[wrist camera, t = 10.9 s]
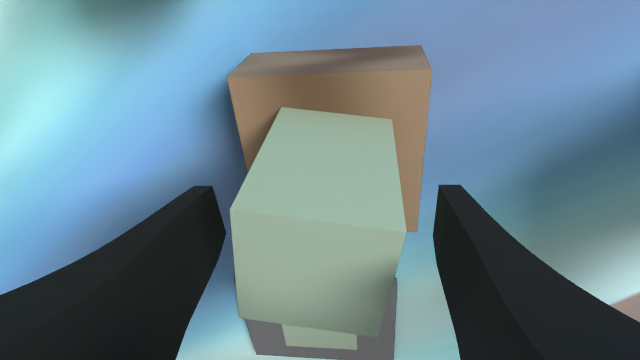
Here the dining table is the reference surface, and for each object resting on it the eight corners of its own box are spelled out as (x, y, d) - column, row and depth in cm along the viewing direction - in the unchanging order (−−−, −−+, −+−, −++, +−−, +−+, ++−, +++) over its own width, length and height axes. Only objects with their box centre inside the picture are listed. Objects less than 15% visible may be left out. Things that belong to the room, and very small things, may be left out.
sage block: (392, 119, 13) (406, 232, 8) (374, 207, 15) (377, 337, 10) (281, 107, 13) (229, 209, 8) (280, 195, 16) (238, 318, 11)
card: (396, 278, 22) (397, 287, 21) (392, 354, 26) (393, 364, 26) (236, 273, 23) (233, 282, 23) (258, 346, 28) (255, 355, 27)
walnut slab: (419, 43, 15) (432, 69, 12) (409, 185, 19) (416, 231, 16) (253, 51, 16) (226, 77, 13) (275, 185, 20) (259, 228, 17)
